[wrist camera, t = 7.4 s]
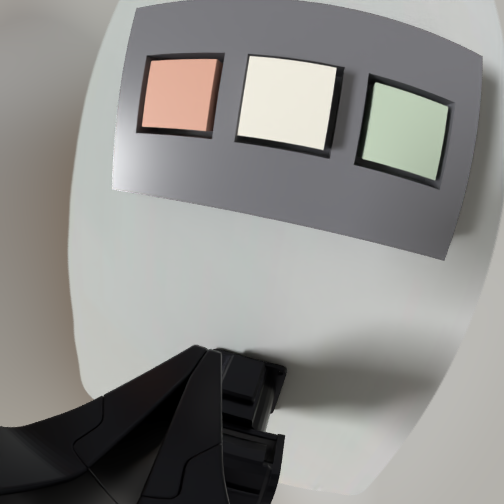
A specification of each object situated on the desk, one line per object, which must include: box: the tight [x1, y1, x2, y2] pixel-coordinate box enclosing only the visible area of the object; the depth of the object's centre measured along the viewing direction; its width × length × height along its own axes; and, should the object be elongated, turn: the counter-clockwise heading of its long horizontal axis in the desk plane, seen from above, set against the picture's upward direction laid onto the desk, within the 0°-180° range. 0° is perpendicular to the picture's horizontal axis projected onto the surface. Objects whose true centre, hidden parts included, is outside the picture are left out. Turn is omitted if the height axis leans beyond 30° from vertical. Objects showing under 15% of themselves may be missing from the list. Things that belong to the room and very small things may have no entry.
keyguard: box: [112, 0, 482, 261], centre depth 14 cm, size 12×20×4 cm, turn 82°
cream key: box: [238, 56, 337, 150], centre depth 13 cm, size 4×4×2 cm
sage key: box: [357, 83, 448, 180], centre depth 13 cm, size 4×4×2 cm
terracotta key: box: [142, 59, 223, 131], centre depth 15 cm, size 4×4×2 cm
